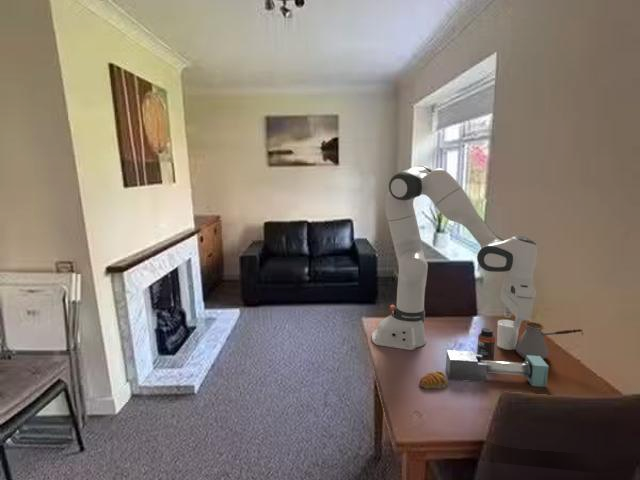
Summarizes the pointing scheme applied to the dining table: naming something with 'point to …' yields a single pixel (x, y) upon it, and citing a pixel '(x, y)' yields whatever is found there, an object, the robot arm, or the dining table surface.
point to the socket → (537, 371)
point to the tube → (508, 367)
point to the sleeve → (465, 366)
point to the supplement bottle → (486, 344)
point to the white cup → (506, 334)
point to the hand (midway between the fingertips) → (511, 322)
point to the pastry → (433, 380)
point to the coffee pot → (536, 340)
